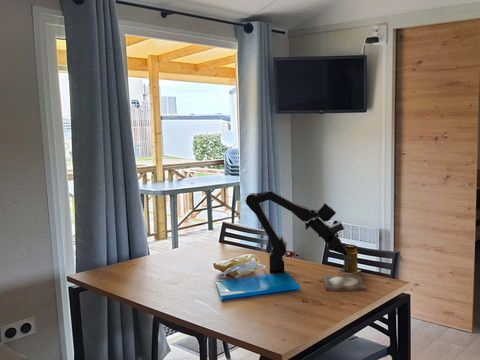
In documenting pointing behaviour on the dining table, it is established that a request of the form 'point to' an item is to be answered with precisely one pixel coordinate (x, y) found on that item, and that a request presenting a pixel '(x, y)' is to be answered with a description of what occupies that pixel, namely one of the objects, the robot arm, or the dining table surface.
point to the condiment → (350, 260)
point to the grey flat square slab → (343, 283)
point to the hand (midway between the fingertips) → (345, 251)
